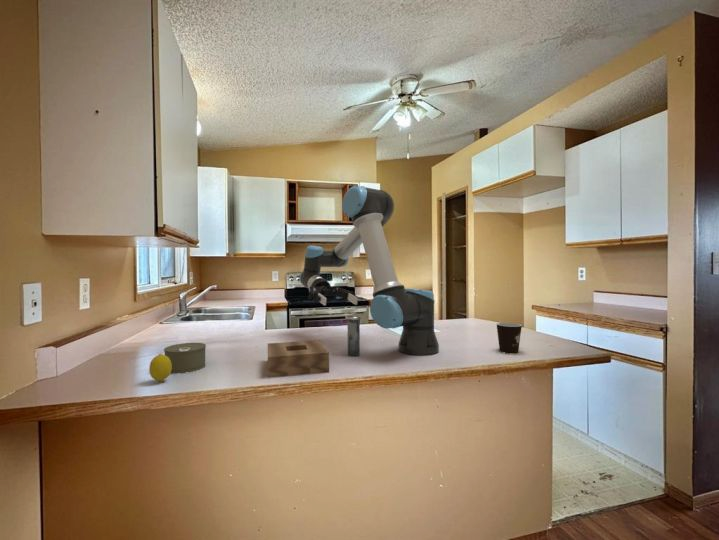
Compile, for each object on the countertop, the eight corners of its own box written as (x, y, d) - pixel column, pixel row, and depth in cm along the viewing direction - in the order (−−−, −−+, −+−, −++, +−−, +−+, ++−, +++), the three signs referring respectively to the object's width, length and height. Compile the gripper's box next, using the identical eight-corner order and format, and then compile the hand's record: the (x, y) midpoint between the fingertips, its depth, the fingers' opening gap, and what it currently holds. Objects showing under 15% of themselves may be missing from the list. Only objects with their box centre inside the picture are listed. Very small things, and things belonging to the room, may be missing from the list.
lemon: (148, 381, 101) (148, 353, 101) (170, 377, 104) (170, 350, 104) (150, 386, 96) (149, 357, 96) (173, 382, 100) (172, 354, 99)
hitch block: (320, 357, 125) (320, 340, 125) (329, 372, 108) (328, 352, 108) (267, 361, 121) (267, 343, 121) (268, 377, 103) (267, 357, 103)
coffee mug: (506, 355, 126) (506, 327, 126) (491, 349, 135) (491, 323, 134) (534, 352, 129) (534, 325, 129) (518, 347, 137) (518, 321, 137)
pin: (363, 353, 130) (363, 315, 130) (359, 357, 125) (359, 317, 124) (348, 352, 132) (348, 314, 131) (343, 356, 126) (343, 317, 126)
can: (207, 361, 121) (206, 341, 121) (205, 371, 110) (204, 349, 110) (167, 365, 117) (167, 344, 117) (161, 375, 106) (160, 353, 106)
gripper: (343, 294, 160) (367, 310, 143) (290, 294, 148) (310, 312, 130) (345, 278, 159) (370, 292, 141) (292, 277, 146) (312, 292, 128)
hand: (341, 301), depth 136 cm, fingers open, 13 cm apart
